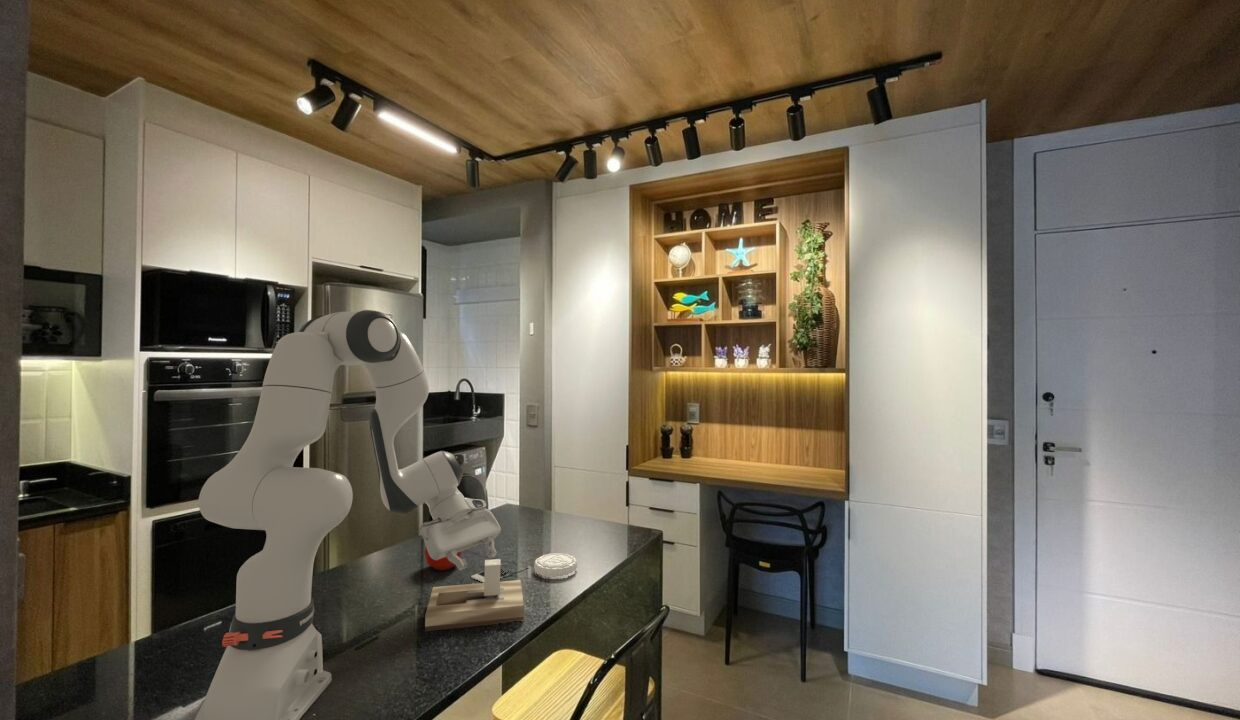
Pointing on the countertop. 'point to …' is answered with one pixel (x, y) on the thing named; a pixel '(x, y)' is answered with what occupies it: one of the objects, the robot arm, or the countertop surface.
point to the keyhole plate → (473, 606)
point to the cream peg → (492, 578)
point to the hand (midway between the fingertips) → (479, 562)
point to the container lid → (555, 564)
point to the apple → (440, 561)
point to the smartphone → (481, 575)
